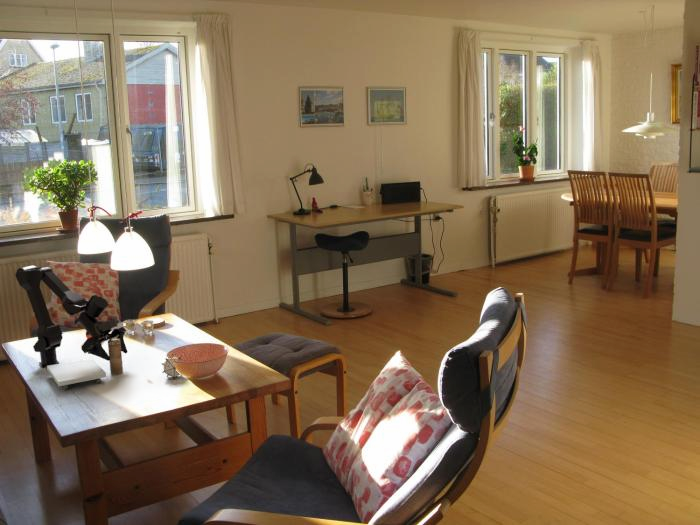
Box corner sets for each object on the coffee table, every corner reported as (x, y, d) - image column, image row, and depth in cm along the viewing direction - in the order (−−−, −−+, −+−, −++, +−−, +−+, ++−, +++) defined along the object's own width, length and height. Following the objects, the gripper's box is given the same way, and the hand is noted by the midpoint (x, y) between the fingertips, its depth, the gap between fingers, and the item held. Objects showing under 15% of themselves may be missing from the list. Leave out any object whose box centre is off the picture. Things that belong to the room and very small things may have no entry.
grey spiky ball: (172, 388, 257) (155, 372, 251) (170, 374, 264) (154, 357, 258) (193, 376, 257) (177, 359, 251) (191, 361, 264) (175, 344, 258)
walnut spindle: (109, 372, 266) (106, 340, 263) (121, 370, 268) (118, 338, 266) (112, 375, 262) (109, 343, 260) (124, 373, 264) (121, 340, 262)
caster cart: (48, 376, 263) (46, 365, 263) (92, 367, 272) (91, 357, 271) (59, 393, 245) (58, 382, 244) (107, 383, 253) (106, 372, 253)
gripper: (84, 317, 254) (111, 350, 251) (120, 305, 271) (145, 335, 268) (69, 337, 258) (96, 369, 256) (105, 324, 275) (130, 354, 273)
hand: (118, 356), depth 263 cm, fingers open, 9 cm apart
